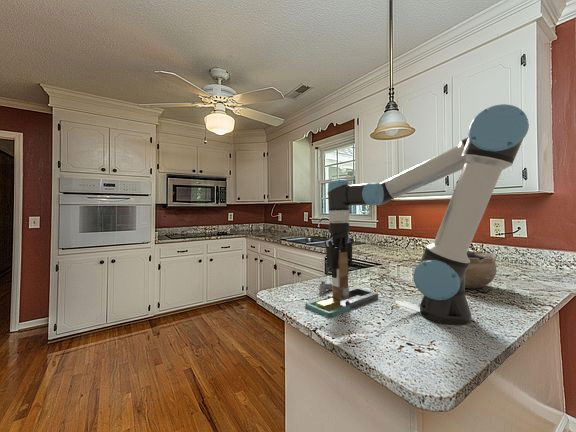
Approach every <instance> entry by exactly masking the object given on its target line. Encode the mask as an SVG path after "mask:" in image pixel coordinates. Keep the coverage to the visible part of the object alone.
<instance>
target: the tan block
mask: <svg viewBox="0 0 576 432" xmlns="http://www.w3.org/2000/svg"><path fill="white" fill-rule="evenodd" d="M315 306H316V307H319V308H321V309H324V310H326V311H329V312H330V311H333V310H332V303H331V302H328V301H325V300H323V301H319V302H316V305H315Z"/></svg>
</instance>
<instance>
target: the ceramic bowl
mask: <svg viewBox="0 0 576 432" xmlns="http://www.w3.org/2000/svg"><path fill="white" fill-rule="evenodd" d="M467 256H468V258H469V260H470V263H469V265H468V268H467V270H466V272H465V289H482V288H484V287H487V286H488V285H489V284H490V283H491V282H493V280H494V279H495V276H496V274H497V265H496V260H497V257H498V256H497V255H495V254H494V253H493V254H492V253H491V254H489V253H485V252H479V251H478V252H477V251H469V250H468V251H467Z"/></svg>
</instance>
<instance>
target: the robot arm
mask: <svg viewBox="0 0 576 432" xmlns="http://www.w3.org/2000/svg"><path fill="white" fill-rule="evenodd" d="M529 126H530V123H529V119H528V117H527V114H526V113H525V111H523V110H522V109H521V108H519V107H518V106H516V105H512V104H496V105H492V106H490V107H487V108H484V109H483V110H481V111H480V112H479V113H478V114H477V115H476V116H475V117H474V118H473V119H472V120H471V122H470V124H469V127H468V131H467V134H468V136H467V137H466V138H464V139H461V140H460V141H459V143H458V145H457V146H454V147H452V148H450V149H447V150H446V151H443V152H441V153H440V154H438V155H435V156H433V157H431V158H429V159H427V160H425V161H423V162H421V163H419V164H415V166H412V167H410V168H408V169H406V170H403V171H402V172H400V173H399V174H396V175H394V176H392V177H389V178H388V179H385V180H384V181H382V182H368V183H358V184H350V183H349V181H348V180H347V179H333V180H330V181H328V185H327V199H328V200H327V201H328V203H327V204H328V205H327V206H328V222H329V223H328V232H329V234H330V236H329V239H328V240H324V245H325V253H326V255H325V257H326V267H327V268H328V269H331V270H330V271H331V277H332V285H333V286H336V287H340V280H339V269H337V268H338V259H339V251H343V252H347V258H348V268H349V267H351V266H352V264H353V243H354V238H353V237H350V236H349V233H350V223H349V222H350V207H351V206H383V205H385V204H387V203H388V202H390V201H392V200H394V199H396V198H399V197H401V196H403V195H406V194H408V193H410V192H413V191H415V190H417V189H420V188H422V187H425V186H427V185H429V184H431V183H434V182H436V181H439V180H440V179H444V178H445V177H448V176H450V175H453V174H455V173H457V172H460V171H461V172H460V175H459V177H458V180H457V183H456V185H455V187H454V190H453V193H452V194H451V197H450V201H449V202H448V206H447V207H446V210H445V212H444V215H443V217H442V220H441V224H440V226H439V228H438V231H437V233H436V236H435V238H434V241H433V242H431V243H429V244H427V245H426V246H425V249H424V251H423V254H422V257H421V258H420V261H419V263H418V264H417V265H416V266H415V268H414V269H413V270H414V271H413V274H412V275H413V282H414V285H415V288H416V289H417V290H418V291H419V292H420V293H421V294H422V295H423V296H422V299H421V302H420V304H419V313H420V315H421V316H423V317H424V318H425V319H427V320H430V321H433V322H436V323H440V324H446V325H453V326H454V325H455V326H461V325H462V326H463V325H467V324H470V323H471V322H472V312H471V309H470V307H469V306H470V305H469V303H468V301H467V300H468V299H467V297H466V288H465V272H466V270H467V268H468V265H469V263H470V260H469V258H468V256H467V251H469V248H470V246H471V244H472V242H473V239H474V237H475V235H476V232H477V230H478V227H479V225H480V222H481V221H482V218H483V216H484V214H485V211H486V209H487V207H488V204H489V202H490V199H491V197H492V194H493V193H494V190H495V188H496V185H497V183H498V180H499V178H500V176H501V175H502V174H501V173H502V172H503V171H504V170H506V169H507V168H509V167H511V166H513V164H514V161H515V159H516V157H517V155H518V152H519V150H520V147H521V145H522V143H523V140H524V139H525V137H526V135H528V134H527V133H528V131H529V128H530V127H529ZM349 273H350V272H349V271H348V274H349Z"/></svg>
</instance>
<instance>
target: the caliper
mask: <svg viewBox="0 0 576 432" xmlns="http://www.w3.org/2000/svg"><path fill="white" fill-rule="evenodd" d="M332 286H333V283H326V281H325V280H324V281H321V283H320V284H319V289H318V291H319V292H318V294H320V295H321V294H323V293H324V294H325V293H327V291H332Z"/></svg>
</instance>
